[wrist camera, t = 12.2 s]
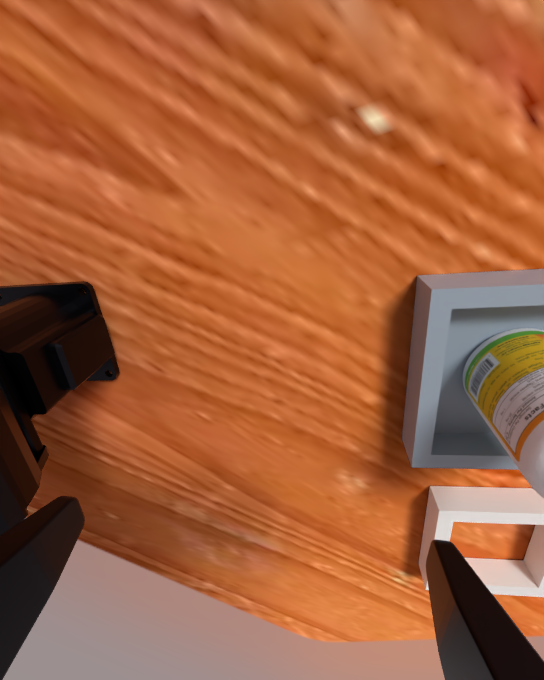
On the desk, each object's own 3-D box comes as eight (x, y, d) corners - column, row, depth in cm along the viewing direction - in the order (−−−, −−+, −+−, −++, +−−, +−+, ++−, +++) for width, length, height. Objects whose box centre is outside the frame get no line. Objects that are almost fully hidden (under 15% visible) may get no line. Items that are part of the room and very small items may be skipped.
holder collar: (418, 563, 28) (425, 589, 26) (429, 486, 24) (439, 510, 23) (534, 569, 27) (550, 597, 25) (564, 489, 23) (585, 515, 21)
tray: (401, 438, 23) (411, 467, 21) (417, 275, 18) (431, 289, 16) (586, 439, 21) (618, 471, 19) (653, 263, 17) (706, 276, 15)
